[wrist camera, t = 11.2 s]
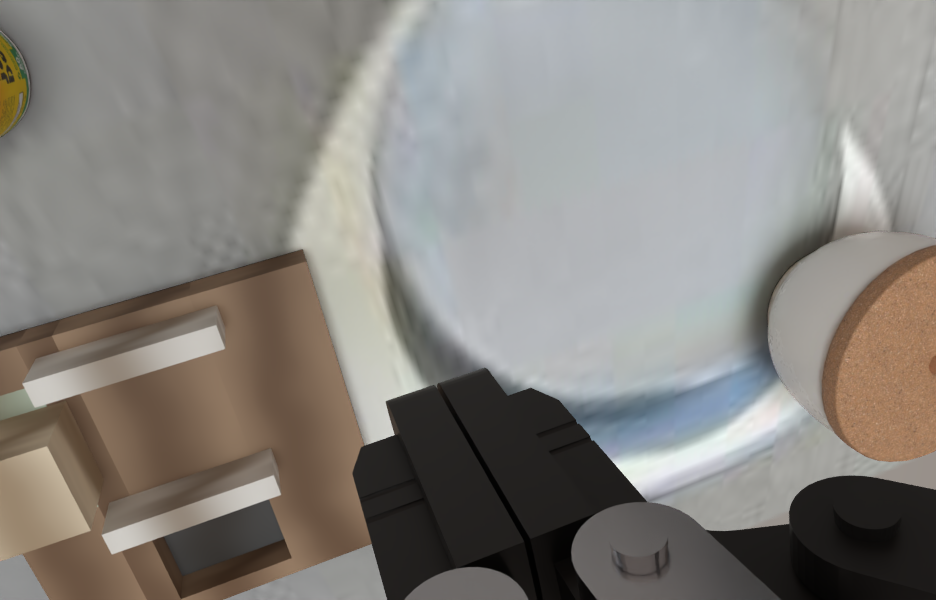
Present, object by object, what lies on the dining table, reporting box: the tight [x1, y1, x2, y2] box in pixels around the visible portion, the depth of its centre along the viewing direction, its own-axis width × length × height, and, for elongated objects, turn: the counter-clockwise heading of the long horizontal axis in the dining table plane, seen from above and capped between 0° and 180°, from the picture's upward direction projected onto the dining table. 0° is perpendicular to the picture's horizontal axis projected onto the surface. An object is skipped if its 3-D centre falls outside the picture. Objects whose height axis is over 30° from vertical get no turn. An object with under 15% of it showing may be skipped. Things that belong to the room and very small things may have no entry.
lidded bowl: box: [767, 231, 936, 462], centre depth 43 cm, size 13×13×11 cm
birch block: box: [0, 401, 104, 561], centre depth 32 cm, size 4×4×4 cm
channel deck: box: [0, 250, 372, 600], centre depth 36 cm, size 17×17×4 cm
